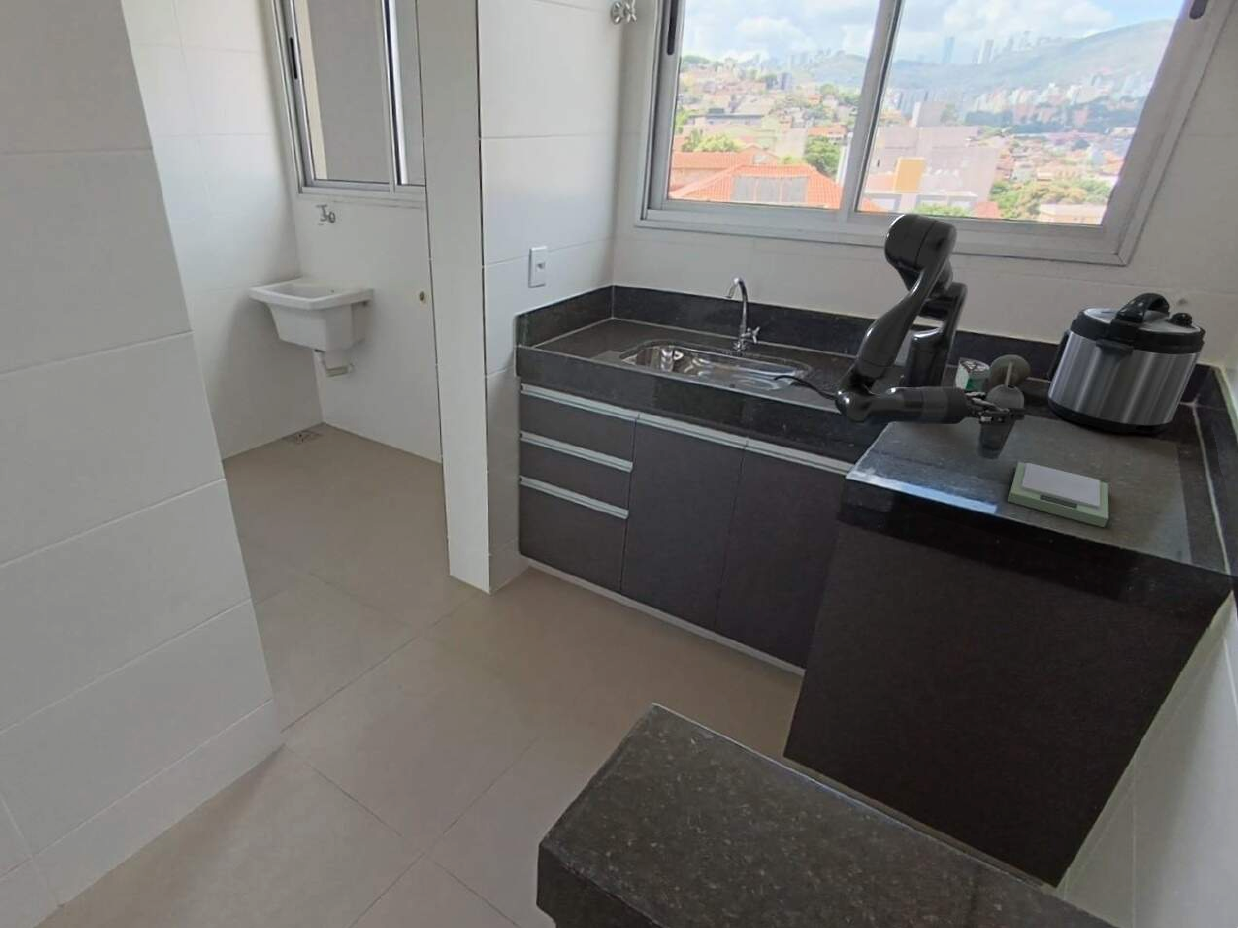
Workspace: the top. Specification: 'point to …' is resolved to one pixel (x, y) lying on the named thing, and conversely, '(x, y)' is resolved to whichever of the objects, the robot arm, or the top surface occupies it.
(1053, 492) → the kitchen scale
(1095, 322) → the pressure cooker
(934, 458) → the top surface
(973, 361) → the food container
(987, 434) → the beverage cup
